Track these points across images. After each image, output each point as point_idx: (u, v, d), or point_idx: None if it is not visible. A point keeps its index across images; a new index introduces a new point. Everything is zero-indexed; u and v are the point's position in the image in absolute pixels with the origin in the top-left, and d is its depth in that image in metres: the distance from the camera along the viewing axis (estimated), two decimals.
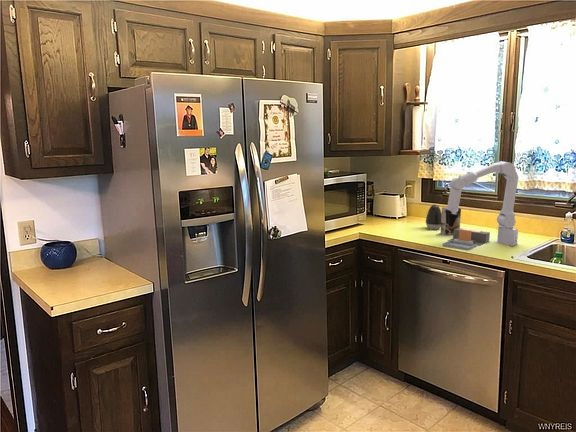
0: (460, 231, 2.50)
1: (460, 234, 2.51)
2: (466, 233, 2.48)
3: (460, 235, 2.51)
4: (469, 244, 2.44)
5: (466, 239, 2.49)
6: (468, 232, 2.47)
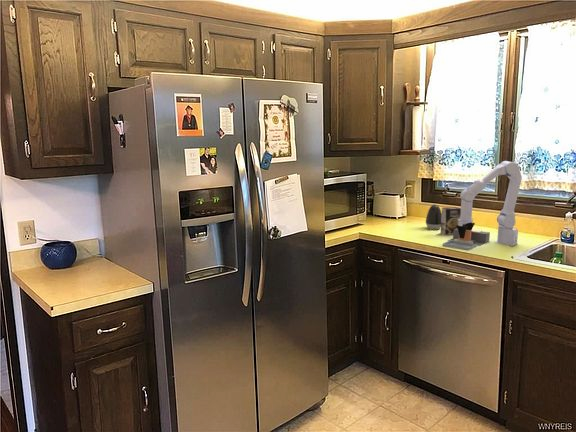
0: None
1: None
2: (466, 233, 2.48)
3: None
4: (469, 244, 2.44)
5: (466, 239, 2.49)
6: (468, 232, 2.47)
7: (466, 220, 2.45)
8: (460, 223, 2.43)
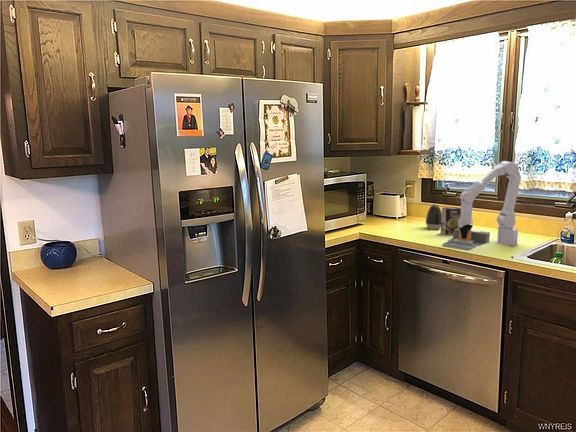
0: None
1: (460, 234, 2.51)
2: None
3: (460, 235, 2.51)
4: (469, 244, 2.44)
5: (466, 239, 2.49)
6: (468, 232, 2.47)
7: (466, 221, 2.46)
8: (460, 224, 2.43)
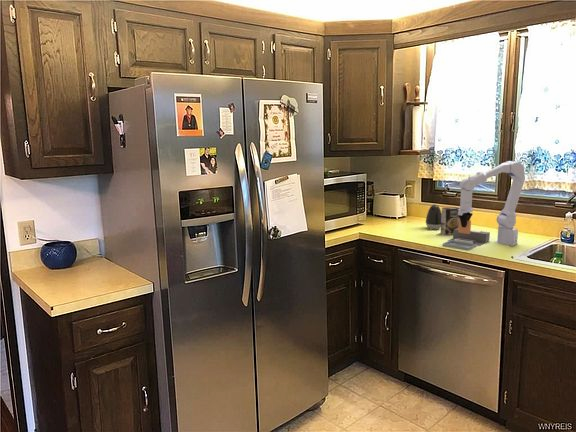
0: (460, 221, 2.48)
1: (460, 224, 2.49)
2: None
3: (460, 226, 2.49)
4: (469, 244, 2.44)
5: (466, 229, 2.47)
6: (468, 222, 2.45)
7: (466, 209, 2.43)
8: (460, 212, 2.41)
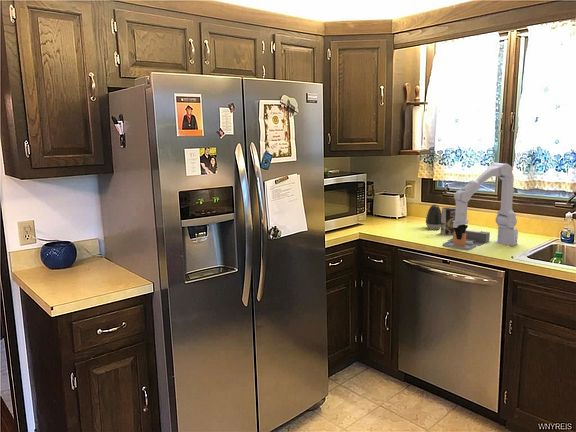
0: (455, 234, 2.43)
1: (455, 237, 2.44)
2: None
3: (455, 239, 2.44)
4: (469, 244, 2.44)
5: (461, 242, 2.42)
6: (463, 235, 2.40)
7: (461, 221, 2.38)
8: (455, 225, 2.36)
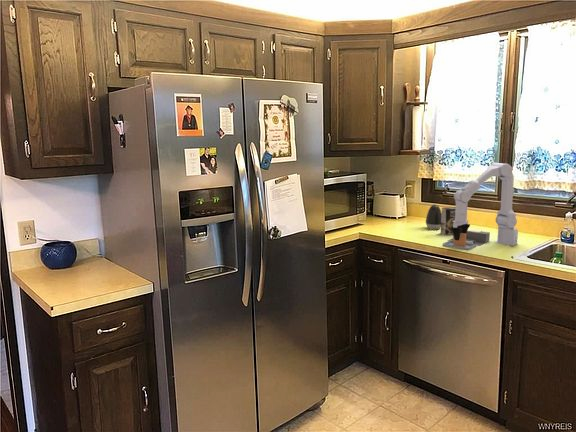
0: None
1: None
2: (461, 236, 2.41)
3: None
4: (469, 244, 2.44)
5: (461, 242, 2.42)
6: (463, 235, 2.40)
7: (461, 221, 2.38)
8: (455, 225, 2.36)
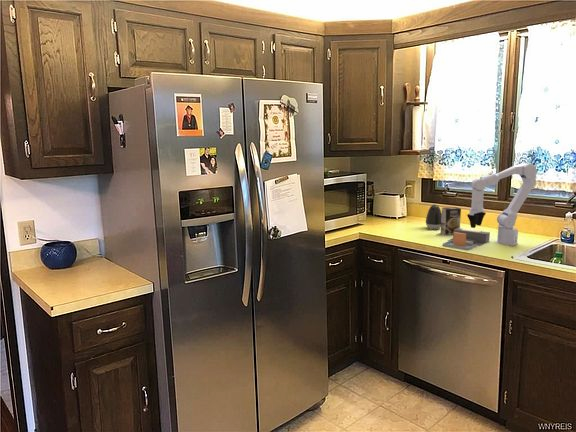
0: (455, 234, 2.43)
1: (455, 237, 2.44)
2: (461, 236, 2.41)
3: (455, 239, 2.44)
4: (469, 244, 2.44)
5: (461, 242, 2.42)
6: (463, 235, 2.40)
7: (477, 209, 2.45)
8: (471, 212, 2.42)
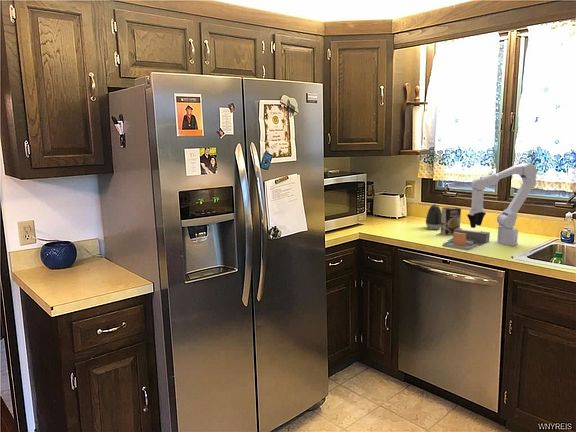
0: (455, 234, 2.43)
1: (455, 237, 2.44)
2: (461, 236, 2.41)
3: (455, 239, 2.44)
4: (469, 244, 2.44)
5: (461, 242, 2.42)
6: (463, 235, 2.40)
7: (477, 209, 2.45)
8: (471, 212, 2.42)
